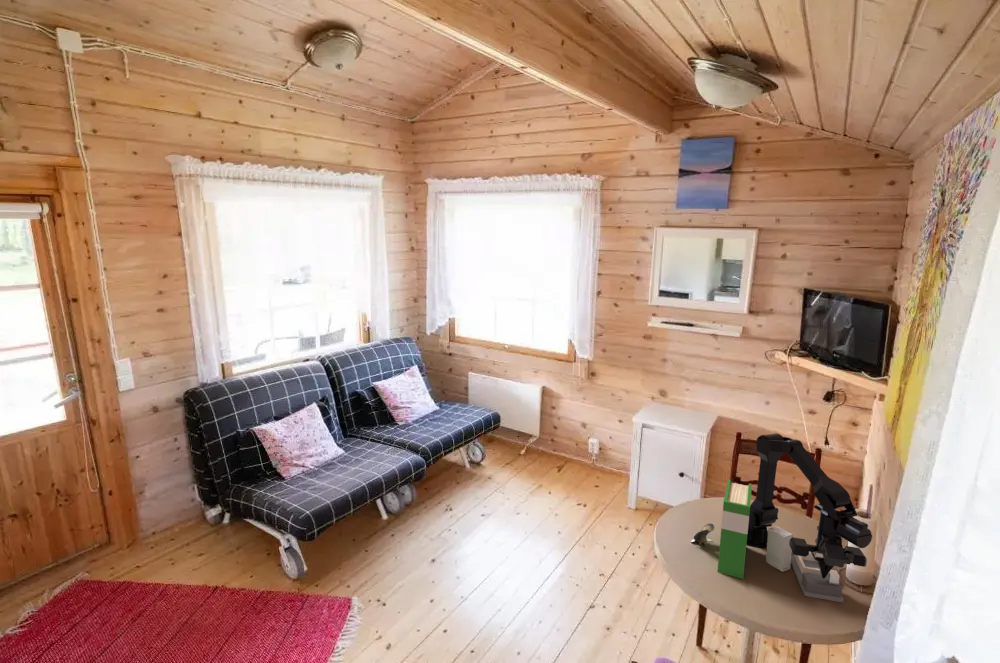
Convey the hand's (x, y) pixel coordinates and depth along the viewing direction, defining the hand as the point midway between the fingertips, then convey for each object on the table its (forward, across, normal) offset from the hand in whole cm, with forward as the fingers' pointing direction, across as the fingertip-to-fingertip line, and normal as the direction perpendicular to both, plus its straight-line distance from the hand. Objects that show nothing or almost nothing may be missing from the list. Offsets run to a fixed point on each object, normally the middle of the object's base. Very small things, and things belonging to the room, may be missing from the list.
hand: (823, 577), depth 155 cm
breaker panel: (+5, 0, +7) cm, 9 cm away
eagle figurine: (+6, -33, +14) cm, 36 cm away
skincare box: (+5, -10, +11) cm, 16 cm away
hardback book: (+6, -23, +10) cm, 26 cm away
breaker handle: (+1, +2, 0) cm, 3 cm away
